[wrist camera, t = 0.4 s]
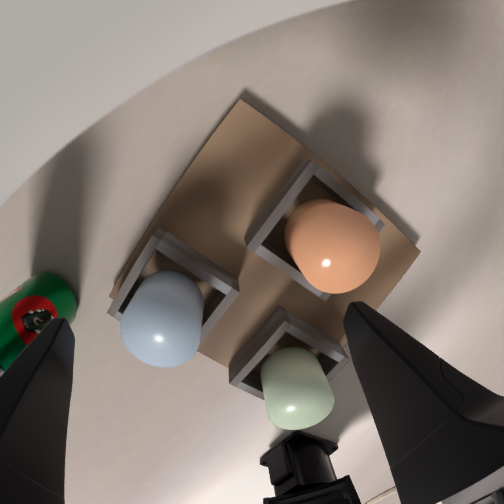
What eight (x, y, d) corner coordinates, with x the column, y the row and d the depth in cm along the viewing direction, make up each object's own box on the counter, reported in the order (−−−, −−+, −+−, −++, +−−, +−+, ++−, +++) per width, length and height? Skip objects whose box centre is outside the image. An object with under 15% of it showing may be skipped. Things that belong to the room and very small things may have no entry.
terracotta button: (365, 226, 19) (395, 242, 16) (323, 280, 20) (344, 307, 16) (314, 183, 18) (336, 190, 15) (269, 242, 19) (280, 263, 15)
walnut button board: (414, 248, 24) (437, 261, 20) (290, 392, 27) (298, 417, 23) (239, 101, 20) (242, 91, 16) (112, 290, 23) (97, 310, 19)
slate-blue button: (217, 295, 20) (216, 326, 16) (181, 342, 21) (174, 379, 17) (158, 256, 19) (142, 280, 15) (126, 308, 20) (107, 340, 16)
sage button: (331, 362, 22) (348, 396, 18) (293, 400, 23) (303, 436, 19) (286, 336, 21) (298, 372, 17) (248, 378, 22) (252, 416, 18)
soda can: (36, 258, 21) (-60, 326, 10) (85, 287, 22) (5, 379, 11) (26, 307, 22) (-51, 385, 11) (72, 334, 23) (8, 430, 12)
